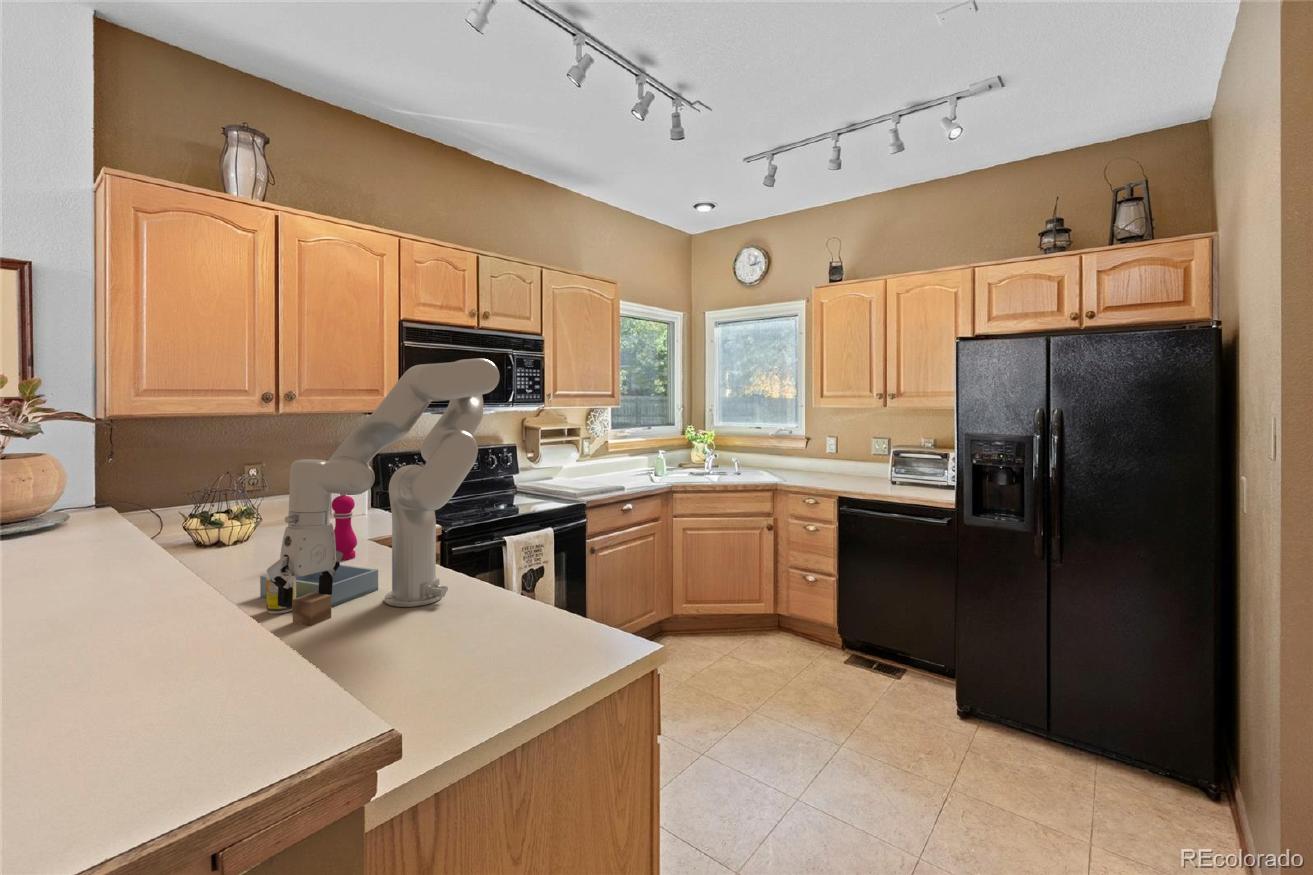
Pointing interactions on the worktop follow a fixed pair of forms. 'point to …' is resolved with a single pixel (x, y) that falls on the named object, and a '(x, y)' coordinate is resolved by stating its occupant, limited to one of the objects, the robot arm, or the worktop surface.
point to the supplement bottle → (276, 597)
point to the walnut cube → (311, 608)
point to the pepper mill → (344, 526)
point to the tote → (336, 584)
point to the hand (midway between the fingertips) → (305, 600)
